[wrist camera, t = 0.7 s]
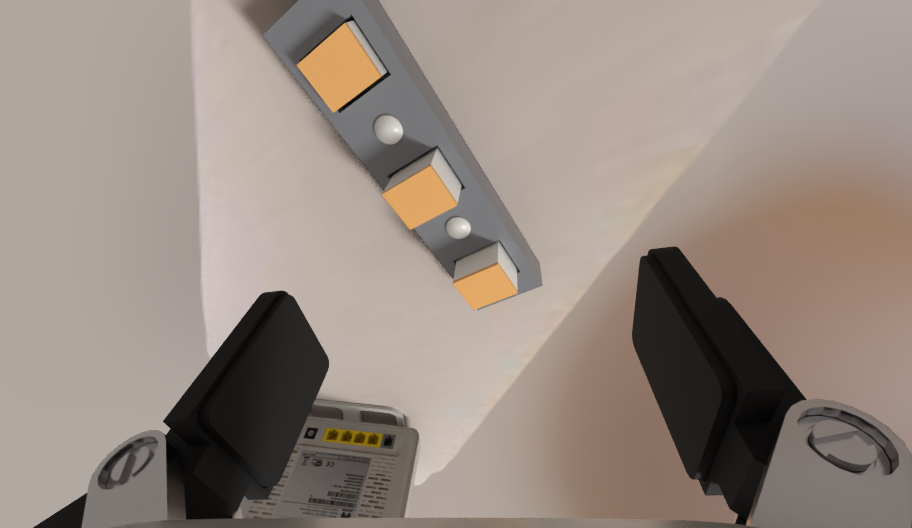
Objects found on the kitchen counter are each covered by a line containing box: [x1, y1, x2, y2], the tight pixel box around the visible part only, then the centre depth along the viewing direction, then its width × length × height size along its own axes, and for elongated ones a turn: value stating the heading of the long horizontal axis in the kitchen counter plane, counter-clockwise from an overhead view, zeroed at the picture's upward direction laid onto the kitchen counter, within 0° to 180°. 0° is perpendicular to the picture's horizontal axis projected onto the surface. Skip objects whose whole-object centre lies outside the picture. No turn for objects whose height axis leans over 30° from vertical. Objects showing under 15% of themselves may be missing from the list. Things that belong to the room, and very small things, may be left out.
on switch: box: [297, 20, 388, 113], centre depth 30 cm, size 5×4×4 cm
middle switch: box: [382, 146, 462, 230], centre depth 33 cm, size 5×4×4 cm
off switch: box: [453, 240, 518, 310], centre depth 38 cm, size 5×4×4 cm
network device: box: [240, 399, 420, 519], centre depth 60 cm, size 26×9×20 cm, turn 89°
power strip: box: [262, 0, 542, 310], centre depth 36 cm, size 8×32×4 cm, turn 33°
